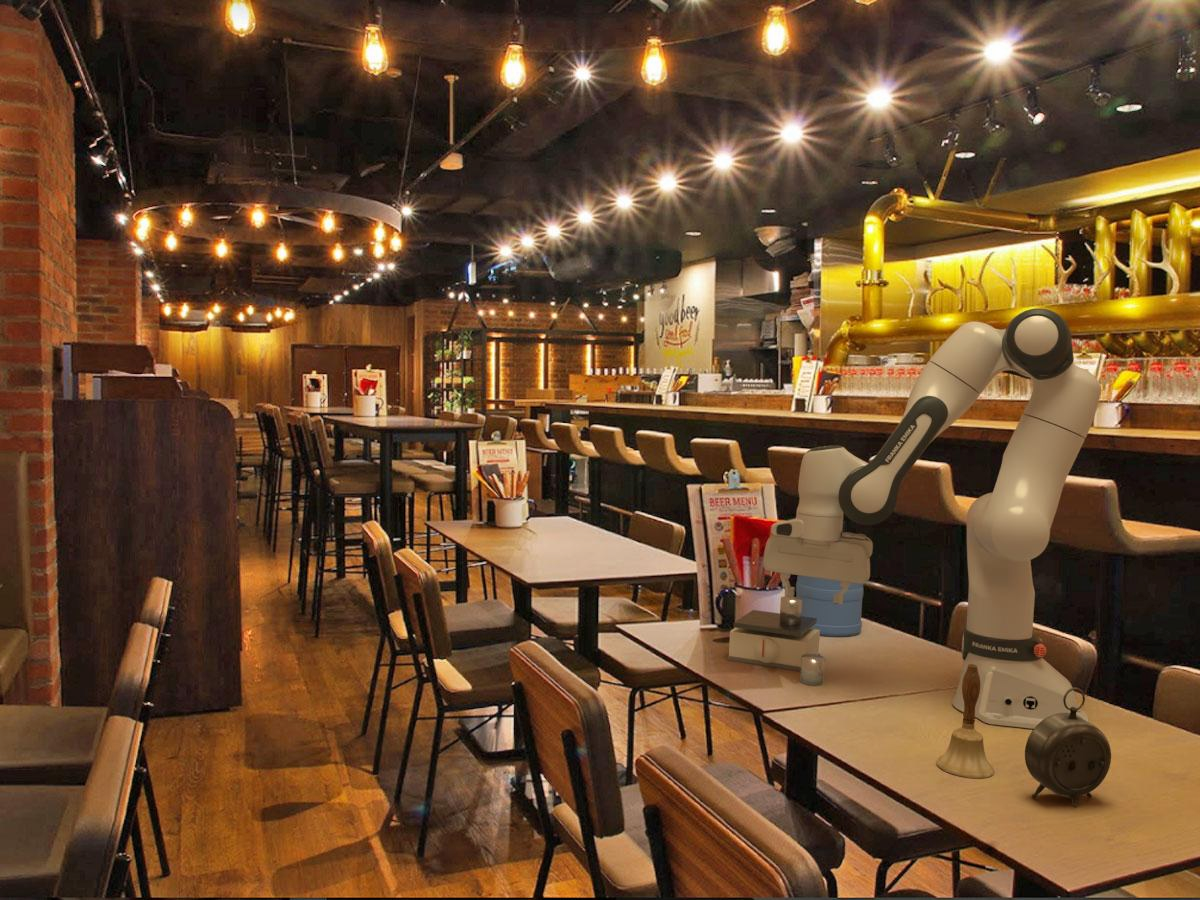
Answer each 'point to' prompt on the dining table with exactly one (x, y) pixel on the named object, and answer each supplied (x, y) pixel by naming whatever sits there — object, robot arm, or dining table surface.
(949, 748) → the hand bell
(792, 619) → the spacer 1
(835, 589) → the water jug
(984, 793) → the dining table surface
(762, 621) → the pan
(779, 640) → the scale body
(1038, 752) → the alarm clock
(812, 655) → the small glass cup
